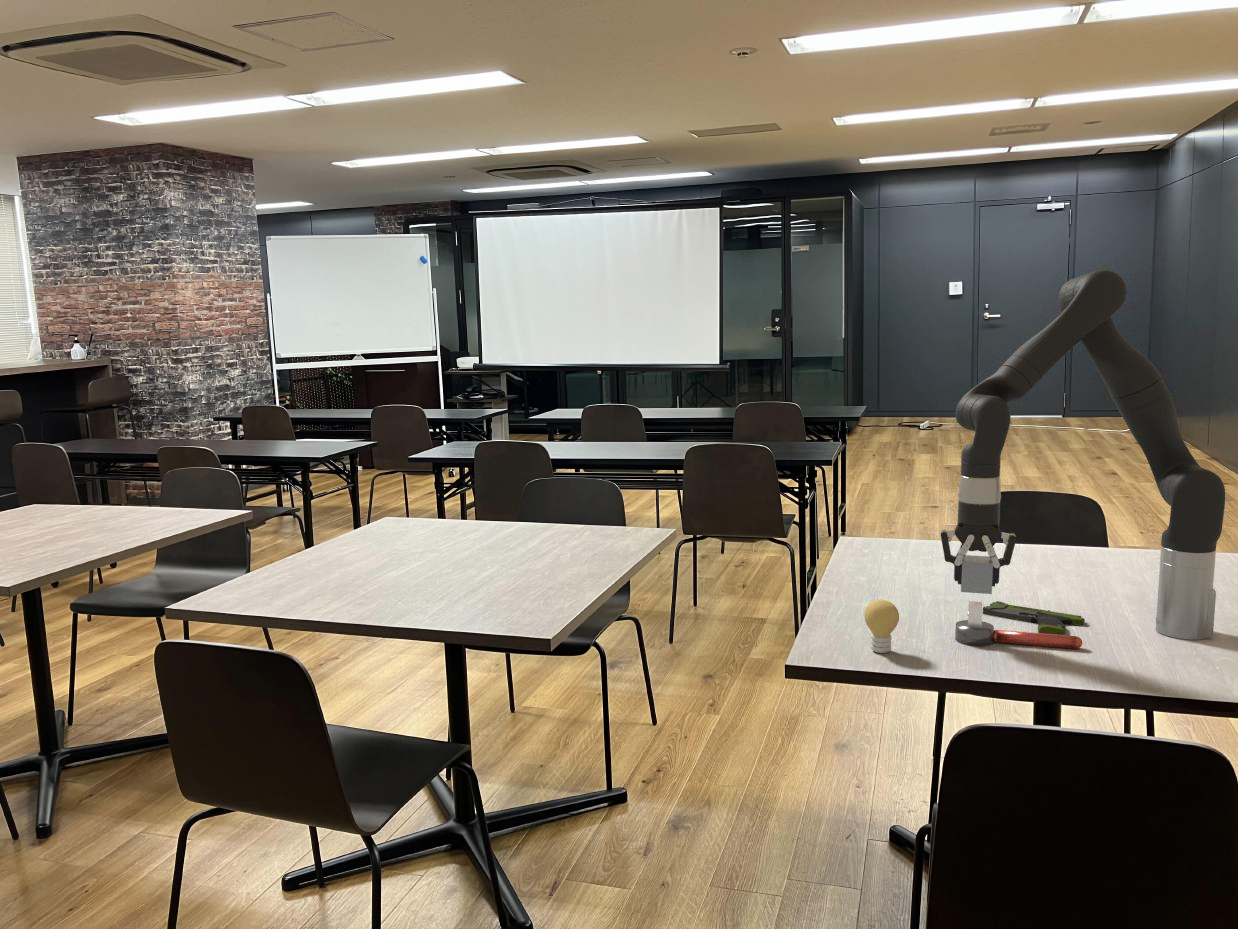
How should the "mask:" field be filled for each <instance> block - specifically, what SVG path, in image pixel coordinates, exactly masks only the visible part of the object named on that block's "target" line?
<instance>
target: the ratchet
mask: <svg viewBox="0 0 1238 929" xmlns="http://www.w3.org/2000/svg"><path fill="white" fill-rule="evenodd" d="M966 615H967V619H964V620H963V619H962V620H959V621H957V622H955V629H954V630H955V636H954V640H955V641H956V642H957V643H960V644H962V645H966V646H970V647H988V646H990V645H993V644H994V643H999V644H1000V643H1001V644H1012V645H1024V646H1037V647H1049V648H1060V649H1061V648H1063V649H1074V650H1077V649H1080V648H1081V647H1082V646H1083V644H1084V642H1083V639H1082V638H1081V637H1080V636H1077V635H1069V634H1068V635H1067V634H1065V635H1056V634H1043V633H1038V632H1029V631H1013V630H1005V629H1004V630H1002V629H995V627H994V625H993V624H991V623H989V622H987V621H983V602H982V601H976V600H975V601H974V600H973V601H971V600H969V601H968V609H967V612H966Z"/></svg>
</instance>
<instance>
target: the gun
mask: <svg viewBox="0 0 1238 929" xmlns="http://www.w3.org/2000/svg"><path fill="white" fill-rule="evenodd" d="M982 615H985V616H991V617H996V618H1003V619H1008V620H1015V621H1019V622H1020V621H1021V622H1027V623H1031V624H1032V623H1033V624H1037V633H1043V634H1056V635H1066V632H1065V631H1066V630H1065V628H1066V626H1067V625H1069V626H1070V625H1071V626H1072V625H1073V626H1083V625H1084V623H1085V622H1086V620H1085V618H1084V617H1082V615H1076V614H1070V613H1065V612H1058V611H1051V610H1050V609H1048V610H1046V609H1041V608H1040V609H1039V608H1034V607H1025V606H1021V605H1015V604H1008V603H1005V602H1002V601H1000V600H999V601H998V600H996V601H993V602H992V603H990V604H989V605H986V606H982ZM1065 625H1066V626H1065Z"/></svg>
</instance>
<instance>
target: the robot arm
mask: <svg viewBox="0 0 1238 929" xmlns="http://www.w3.org/2000/svg"><path fill="white" fill-rule="evenodd" d="M1127 293H1128V292H1127V284H1126V283H1125V280H1124V279H1123V277H1122V276H1120V274H1118V273H1116V272H1115V271H1112V270H1108V269H1107V270H1106V269H1102V270H1101V269H1100V270H1094V271H1090V272H1087V273H1085V274H1082V275H1080V276H1079V275H1078V276H1076V277H1074V278H1072V279H1069V280H1068V281H1066V282H1064V284H1062V287H1061V288H1060V290H1059V293H1058V305H1059V308H1060V310H1061V313H1060V314H1059V315H1058V316H1057V317H1056V318H1054V320H1052V321H1051V322H1050V323H1049V324H1048V325H1046V326H1045V327H1044V328H1042V330H1040V331H1039V332H1037V333H1036V334H1035V335H1033V336H1032V337H1031V338H1030V339H1028V340H1027V341H1025V342H1024V343H1023V344H1022V345H1021V346H1020V347H1018V349H1016V350H1015V352H1013V353H1012V354H1011V355H1010V356H1009V357H1008V359H1007V360H1005V362H1004V363H1002V365H1000V367H999V368H998V369H997V370H996V371H995V372H993V374H991V375H989V376H988V377H986V378H984V380H982V381H980V382H979V383H978V384H977V385H975V386H974V387H973V388H971V389H970V390H969V391H968V392H967V393H965V394H964V395H963V396H962V397H961V399H960V400H959V401H958V403H957V405H956V409H955V420H956V422H957V424H958V425H959V426H960V427H962V428H963V429H965V430H969V431H974V432H975V433H974V437H973V440H972V443H970V444H967V445H965V446H964V447H963V449H962V450H961V455H960V456H961V457H960V458H961V460H960V478H959V484H958V494H957V498H958V501H957V504H958V505H957V524H956V527H955V528H954V529H950V530H946V529H942V530H941V531H940V539H941V545H942V551H943V558H944V561H945V562H946V563H950V564H952V565H953V567H954V570H953V580H954V582H957V585H961V575H962V564H961V563H962V560H963V559H964V557H965V555H967V553H968V552H981V553H986V552H987V554H988V555H987V556H989V557H990V559H991V561H992V562H993V576H992V588H993V587H996V585H997V584H999V583H1000V571H1001V570H1000V569H1001V568H1002V567H1004V566H1009V565H1010V564H1011V561H1012V557H1013V552H1014V548H1015V547H1016V542H1017V536H1016V534H1015V533H1014V532H1011V533H1008V532H1003V531H1002V530H1001V527H1000V519H1001V516H1000V515H1001V499H1002V494H1001V490H1002V489H1001V477H1000V476H1001V455H1002V452H1003V449H1004V447H1005V443H1006V440H1007V437H1008V433H1009V429H1010V426H1011V418H1012V417H1011V410H1010V407H1009V404H1008V403H1009V402H1013V401H1018V400H1021V399H1023V398H1024V397H1025V396H1027V394H1029V393H1030V392H1031V390H1032V389H1033V388H1034V387H1036V385H1037V384H1038V383H1040V381H1041V380H1042V379H1043V378H1044V377H1045V376H1046V375H1047V374H1048V372H1050V370H1051V369H1052V368H1053V367H1054V366H1055V365H1056V364H1057V363H1058V362H1059V361H1060V360H1061V359H1062V358H1063V357H1065V355H1066V354H1068V353H1069V352H1070V351H1071V350H1072V349H1073V348H1074V347H1075V346H1076V345H1077V344H1078V343H1079V342H1081V344H1082V345H1083V346H1084V348H1085V350H1086V352H1087V353H1088V355H1089V357H1090V359H1091V361H1092V363H1093V364H1094V366H1095V368H1096V370H1097V372H1098V374H1099V376H1100V377H1101V379H1102V380H1103V383H1104V384H1105V386H1106V388H1107V390H1108V393H1109V395H1110V397H1111V398H1112V399H1111V400H1112V401H1113V402H1114V405H1115V407H1116V408H1117V410H1118V412H1119V414H1120V416H1121V417H1122V419H1123V421H1124V423H1125V424H1126V425H1127V428H1128V429H1129V431H1130V432H1131V435H1132V436H1133V437H1134V439H1135V441H1136V442H1137V444H1138V445H1139V447H1140V448H1141V450H1142V452H1143V454H1144V456H1145V457H1146V460H1147V464H1148V466H1149V468H1150V470H1151V473H1152V475H1153V479H1154V481H1155V483H1156V485H1157V489H1158V491H1159V494H1160V496H1161V498H1162V499H1163V500H1164V502H1165V503H1166V504H1167V505H1169V506H1170V513H1169V520H1168V521H1169V522H1168V526H1167V528H1165V530H1163V532H1162V533H1161V541H1160V556H1159V571H1158V573H1159V574H1158V588H1157V598H1156V601H1157V602H1156V614H1155V616H1156V617H1155V630H1156V631H1157V633H1160V634H1161V635H1164V636H1168V637H1170V638H1175V639H1182V640H1192V641H1193V640H1195V641H1196V640H1204V639H1209V640H1211V639H1214V628H1215V627H1214V626H1215V615H1216V599H1217V591H1216V590H1215V589H1214V581H1215V580H1214V579H1215V567H1216V566H1215V564H1216V554H1217V553H1216V552H1217V544H1218V540H1219V539H1220V537H1221V535H1222V531H1223V524H1224V514H1225V509H1226V508H1225V507H1226V489H1225V488H1226V487H1225V484H1224V482H1223V480H1222V478H1221V477H1220V476H1219V475H1218V474H1216V472H1213V471H1212V470H1210V469H1207V468H1204V467H1202V466H1201V465H1200V464H1199V462H1197V460H1196V458H1195V457H1194V456H1193V454H1192V453H1191V451H1190V450H1189V448H1188V446H1187V444H1186V443H1185V441H1184V439H1183V437H1182V435H1181V432H1180V428H1179V422H1178V416H1177V411H1176V406H1175V403H1174V400H1173V397H1172V395H1171V393H1170V391H1169V389H1168V387H1167V385H1166V383H1165V381H1164V379H1163V378H1162V375H1161V373H1160V372H1159V371H1158V369H1157V367H1156V366H1155V365H1154V364H1153V363H1152V362H1151V361H1150V360H1149V359H1148V358H1147V357H1146V356H1145V355H1144V354H1142V353H1141V352H1140V351H1139V350H1138V349H1137V348H1135V347H1134V346H1133V345H1132V344H1131V343H1130V342H1129V341H1127V339H1125V337H1124V336H1123V335H1122V334H1121V333H1120V331H1119V329H1118V328H1117V326H1116V324H1115V322H1114V321H1113V318H1112V317H1113V315H1115V314H1116V313H1117V312H1119V311H1120V310H1121V308H1122V307H1123V306H1124V304H1125V301H1126V299H1127V295H1128V294H1127ZM953 537H956V538H957V540H959V542H960V547H959V548H958V550H957V553H956V555H953V554H952V553H951V546H950V542H952V541H953ZM1001 539H1002V540H1003V541H1002V542H1003V544H1004V545H1005V549H1004V553H1003V556H1002V557H1001V558H998V555H997V552H996V550H995V548H994V546H995V545H996V544H997V542H999V541H1000V540H1001Z"/></svg>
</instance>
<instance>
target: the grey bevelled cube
mask: <svg viewBox="0 0 1238 929" xmlns="http://www.w3.org/2000/svg"><path fill="white" fill-rule="evenodd" d="M961 564H962V575H961V584H960V592H961V593H967V594H968V593H970V594H982V595H983V594H985V595H992V594H993V586H992V576H993V562H992V561H991V559H990V557H989V555H987V556H985V555H970V554H966V555H965V557H964V559H963V560H962V563H961Z"/></svg>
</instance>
